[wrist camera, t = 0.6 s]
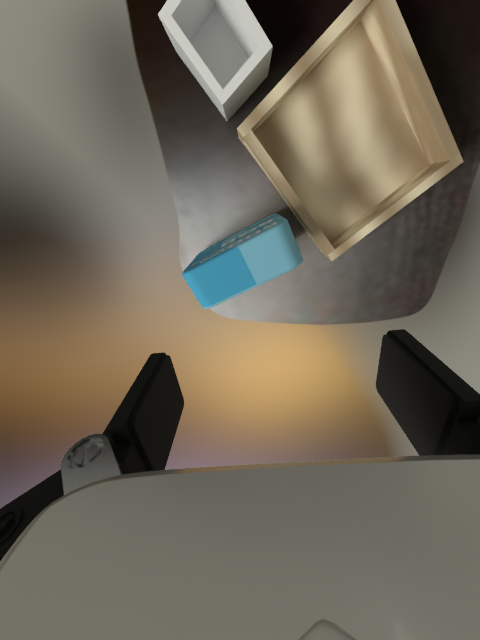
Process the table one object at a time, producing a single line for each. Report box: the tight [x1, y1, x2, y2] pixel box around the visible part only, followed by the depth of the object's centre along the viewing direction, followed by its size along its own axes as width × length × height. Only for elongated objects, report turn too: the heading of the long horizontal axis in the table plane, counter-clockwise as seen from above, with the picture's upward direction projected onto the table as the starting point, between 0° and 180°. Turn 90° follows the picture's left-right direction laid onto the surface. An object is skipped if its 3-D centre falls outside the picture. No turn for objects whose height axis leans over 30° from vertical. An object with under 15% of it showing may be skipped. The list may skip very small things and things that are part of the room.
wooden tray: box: [237, 0, 464, 261], centre depth 28 cm, size 16×18×4 cm
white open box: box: [158, 0, 273, 122], centre depth 24 cm, size 6×8×6 cm
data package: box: [182, 213, 303, 309], centre depth 30 cm, size 12×4×12 cm, turn 117°
